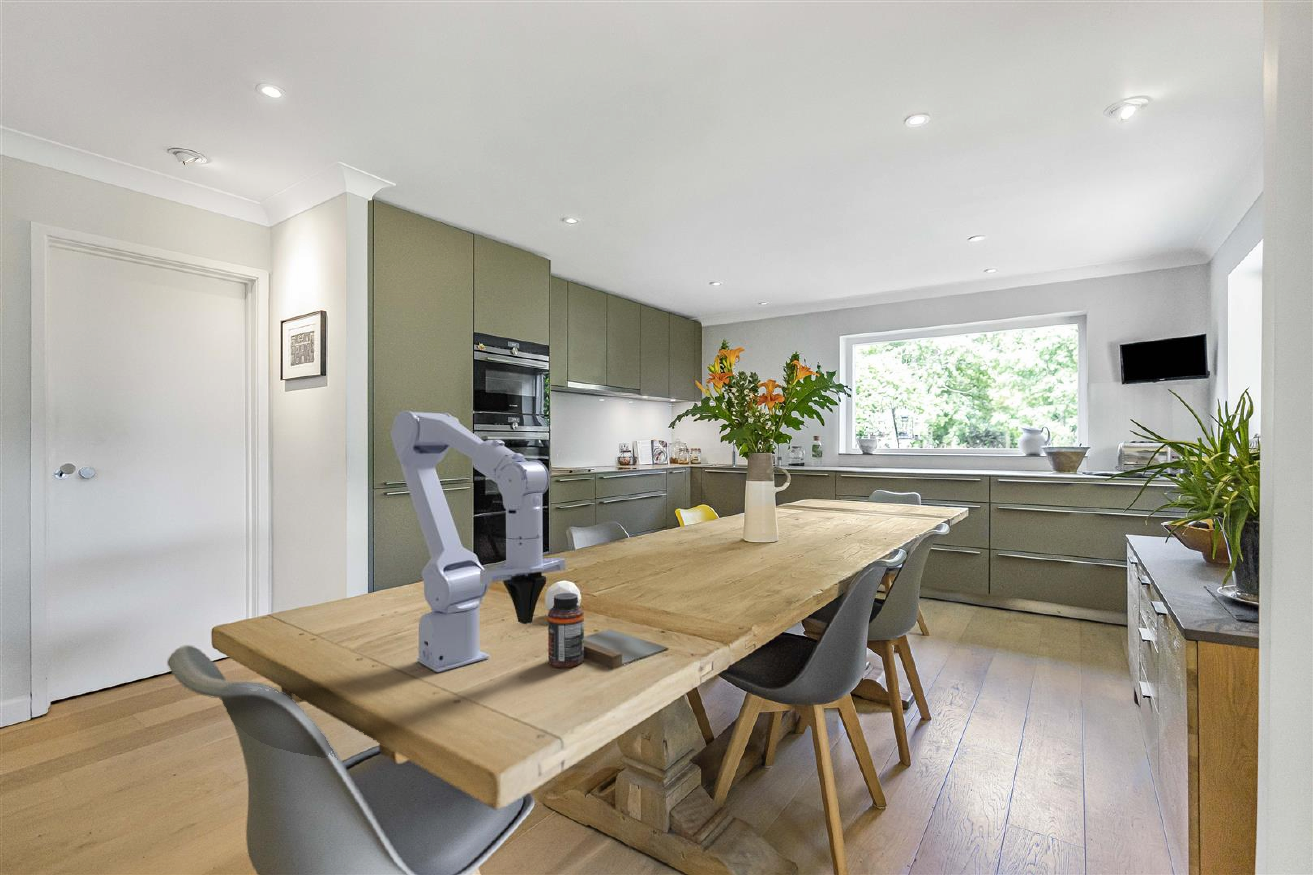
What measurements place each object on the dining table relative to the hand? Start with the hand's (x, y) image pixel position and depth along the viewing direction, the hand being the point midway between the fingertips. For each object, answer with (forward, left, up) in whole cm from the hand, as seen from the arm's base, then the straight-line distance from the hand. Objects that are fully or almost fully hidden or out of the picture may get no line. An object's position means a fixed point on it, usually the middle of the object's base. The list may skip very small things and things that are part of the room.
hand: (524, 622), depth 95 cm
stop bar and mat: (+18, 0, -8) cm, 20 cm away
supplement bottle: (+8, 0, -9) cm, 12 cm away
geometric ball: (+24, +23, -9) cm, 34 cm away
